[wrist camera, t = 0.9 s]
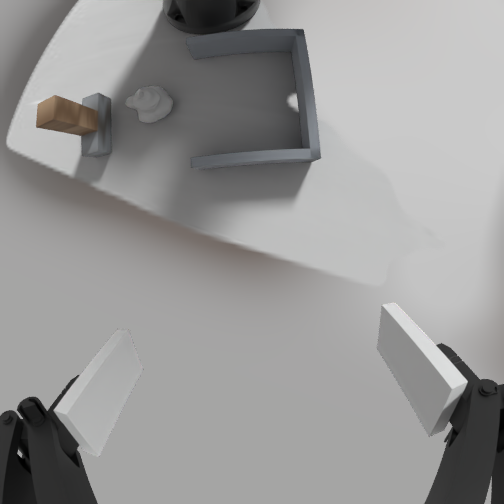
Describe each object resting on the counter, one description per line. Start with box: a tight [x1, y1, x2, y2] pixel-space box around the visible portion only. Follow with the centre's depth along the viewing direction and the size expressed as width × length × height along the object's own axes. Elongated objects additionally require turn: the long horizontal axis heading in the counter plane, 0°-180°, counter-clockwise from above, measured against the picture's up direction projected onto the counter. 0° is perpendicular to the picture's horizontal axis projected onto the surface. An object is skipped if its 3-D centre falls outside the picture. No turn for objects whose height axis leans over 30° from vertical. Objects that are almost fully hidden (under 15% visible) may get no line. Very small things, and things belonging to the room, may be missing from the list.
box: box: [186, 29, 321, 170], centre depth 30 cm, size 18×15×5 cm
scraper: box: [36, 93, 112, 157], centre depth 27 cm, size 9×3×14 cm, turn 4°
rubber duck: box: [126, 86, 173, 123], centre depth 29 cm, size 5×7×8 cm
